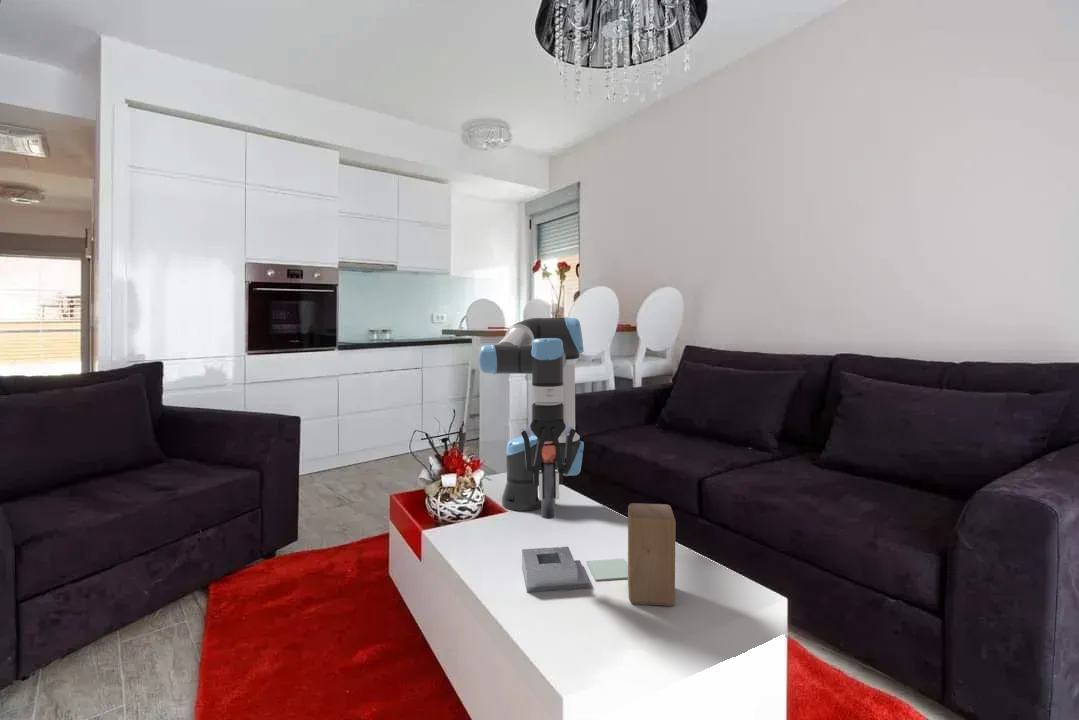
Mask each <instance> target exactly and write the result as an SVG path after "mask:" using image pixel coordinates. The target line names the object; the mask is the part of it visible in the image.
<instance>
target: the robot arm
mask: <svg viewBox="0 0 1079 720" xmlns="http://www.w3.org/2000/svg"><path fill="white" fill-rule="evenodd" d="M581 327H582V326H581V323H580V320H579V319H578V318H576V317H564V316H563V317H532V318H531V317H530V318H526V319H523V320H522V321H521V320H520V321H519V322H516V323H515V324H513V325H511V326H510V327H509V328H508V329H507V330H506V332H505V334H504V337H503V338H502V339H501V340H500V341H499V342H498V343H497V344H484V345H482V346H481V347H480V350H479V355H478V356H479V359H478V361H479V368H480V370H481V372H482V373H484V374H493V375H497V374H500V375H501V374H503V375H504V374H506V375H507V374H509V375H510V374H511V375H513V374H515V375H516V374H521V375H523V374H524V375H526V374H527V375H532V377H531V378H532V379H531V380H532V382H531V401H532V402H533V403H532V405H531V407H532V408H531V410H532V411H531V416H532V417H531V419H532V420H531V423H530V425H529V427H527V428H521V429H520V434H521V436H517V437H514V438H512V439H510V440H508V442H507V444H506V452H505V456H506V484H505V487H504V490H503V493H502V496H501V505H502V507H504V508H505V509H508V510H511V511H519V512H522V511H523V512H524V511H525V512H526V511H534V510H538V509H540V508H541V509H542V505H541V500H542V472H541V446H544V442H553V444H554V445H556V459H557V461H555V500H560V485H561V486H562V485H563V484H564V476H565V477H568V476H577V475H579V474H580V472H581V469H582V463H583V454H584V453H583V452H584V446H585V445H584V444H585V443H584V441H583V440H580V439H581V438H580V435H579V434H578V433H577V432H576V372H575V371H576V362H577V361H579V359H580V354H583V353H584V352H585V351H584V341H583V332H582V328H581ZM531 433H533V434H534V435H532V434H531Z"/></svg>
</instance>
